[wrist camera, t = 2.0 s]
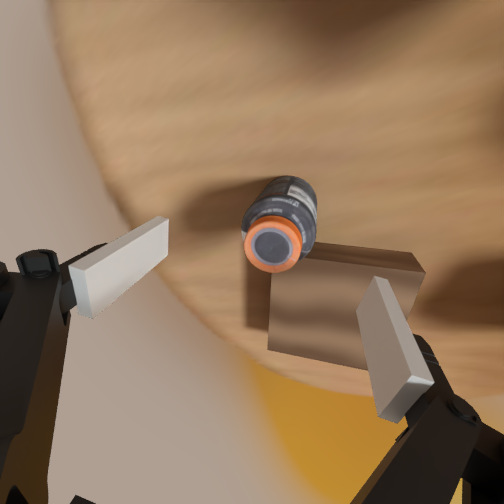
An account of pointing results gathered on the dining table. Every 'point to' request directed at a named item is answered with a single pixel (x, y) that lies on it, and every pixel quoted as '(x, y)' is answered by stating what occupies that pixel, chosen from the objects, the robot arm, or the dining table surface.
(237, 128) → the dining table surface
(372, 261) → the walnut block
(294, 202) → the pill bottle
